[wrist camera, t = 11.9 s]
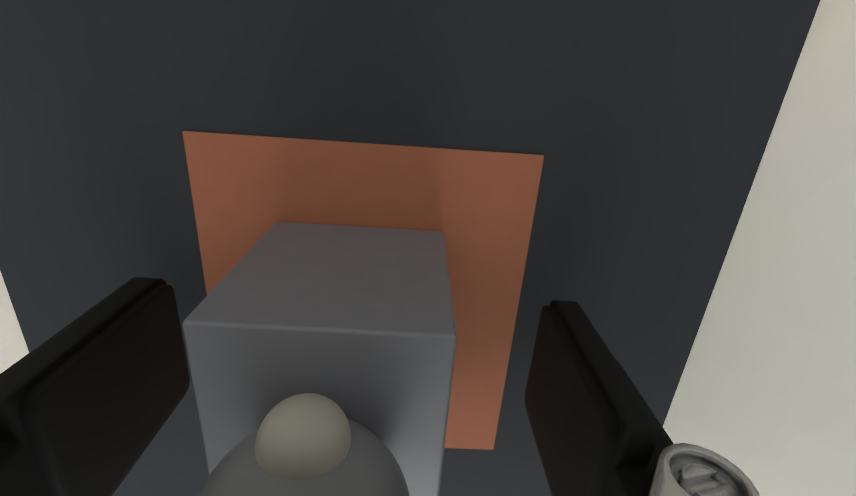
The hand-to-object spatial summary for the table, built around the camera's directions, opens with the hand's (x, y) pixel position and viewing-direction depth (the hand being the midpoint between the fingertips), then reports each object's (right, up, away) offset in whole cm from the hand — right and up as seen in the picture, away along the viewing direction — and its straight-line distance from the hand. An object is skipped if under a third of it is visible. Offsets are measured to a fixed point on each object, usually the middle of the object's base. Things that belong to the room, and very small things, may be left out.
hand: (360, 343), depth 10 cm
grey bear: (0, +1, +1) cm, 1 cm away
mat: (0, +1, +1) cm, 1 cm away
